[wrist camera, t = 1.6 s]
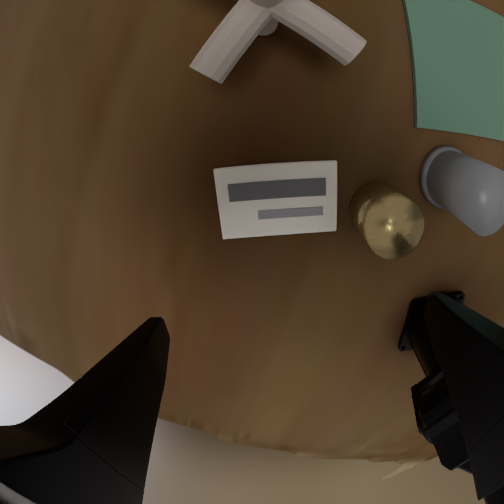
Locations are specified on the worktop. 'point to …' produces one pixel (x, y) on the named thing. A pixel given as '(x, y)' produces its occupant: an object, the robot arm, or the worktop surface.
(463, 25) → the mat
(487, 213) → the cylinder
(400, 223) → the brass fitting
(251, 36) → the pipe connector
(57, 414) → the robot arm
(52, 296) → the worktop surface
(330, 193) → the label tile
